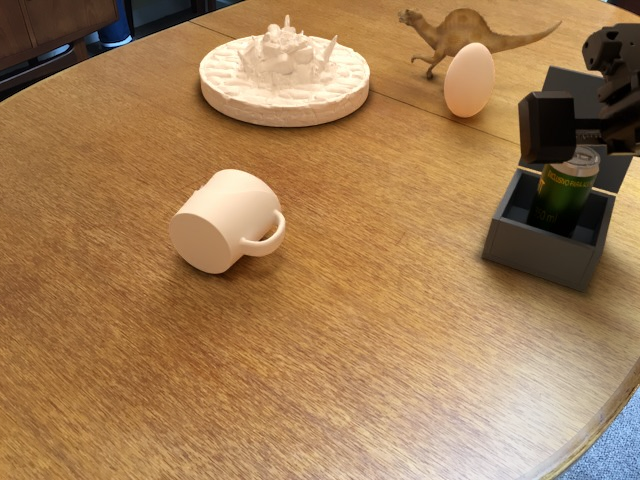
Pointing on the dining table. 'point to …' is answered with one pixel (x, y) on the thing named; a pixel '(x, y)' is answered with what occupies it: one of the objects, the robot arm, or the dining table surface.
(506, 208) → the grey open square box
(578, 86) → the lid
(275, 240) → the mug
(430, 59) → the dinosaur figurine
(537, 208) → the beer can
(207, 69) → the cake
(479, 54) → the egg
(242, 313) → the dining table surface
